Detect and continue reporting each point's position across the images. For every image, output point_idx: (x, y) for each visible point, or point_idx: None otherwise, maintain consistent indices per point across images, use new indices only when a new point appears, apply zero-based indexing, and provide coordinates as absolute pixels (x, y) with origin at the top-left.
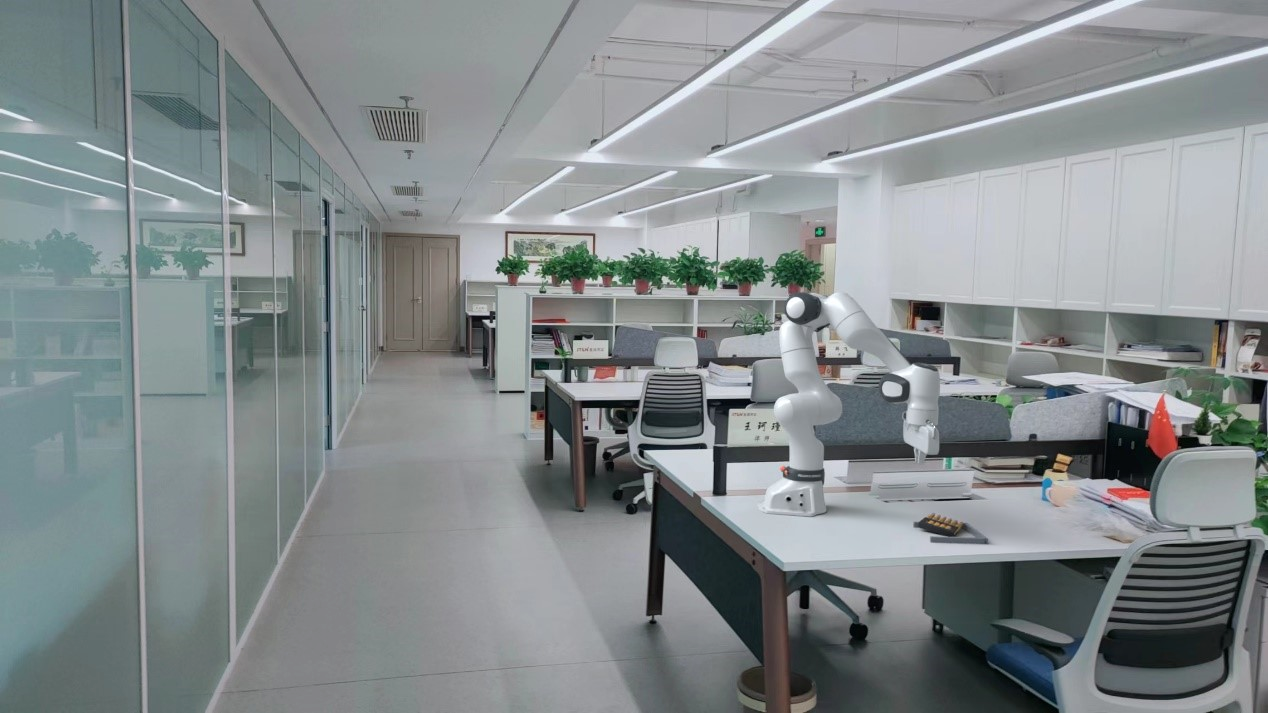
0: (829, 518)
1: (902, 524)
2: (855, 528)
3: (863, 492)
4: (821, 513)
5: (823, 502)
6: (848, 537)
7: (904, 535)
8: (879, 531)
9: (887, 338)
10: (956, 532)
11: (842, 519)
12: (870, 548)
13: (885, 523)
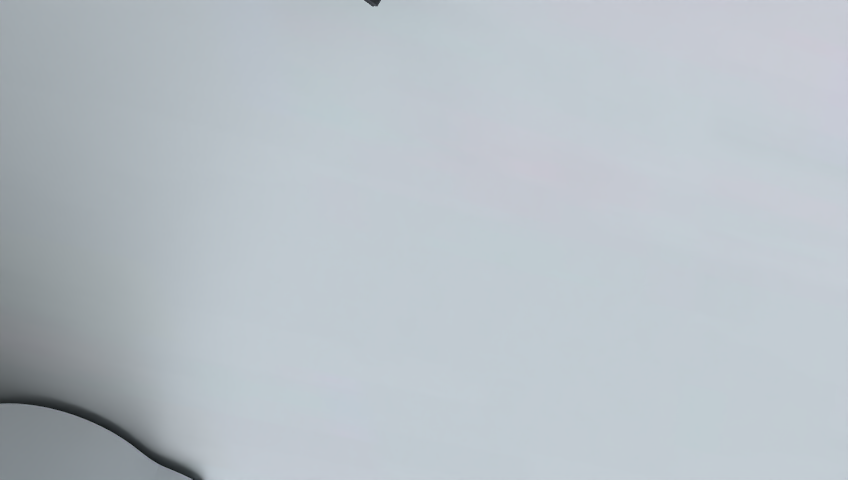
0: (185, 414)
1: (188, 43)
2: (368, 349)
3: None
4: (124, 440)
5: (54, 469)
6: (559, 419)
7: (499, 117)
8: (415, 245)
9: None
10: None
11: (184, 365)
12: (781, 377)
13: (198, 157)
